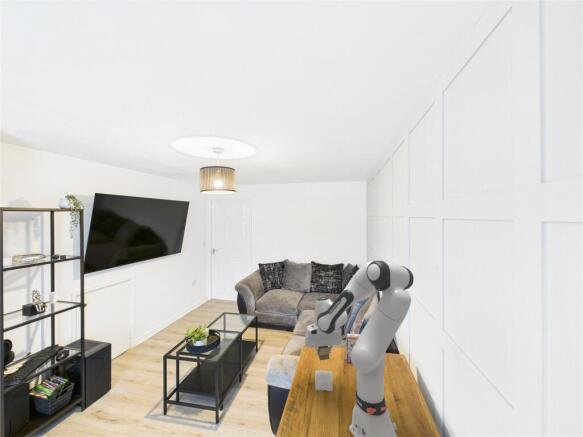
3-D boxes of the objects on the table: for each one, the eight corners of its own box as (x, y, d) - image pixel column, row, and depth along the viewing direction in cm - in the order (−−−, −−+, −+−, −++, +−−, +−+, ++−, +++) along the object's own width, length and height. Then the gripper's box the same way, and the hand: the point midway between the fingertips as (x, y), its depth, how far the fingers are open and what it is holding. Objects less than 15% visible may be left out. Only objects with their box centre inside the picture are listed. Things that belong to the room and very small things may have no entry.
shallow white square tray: (332, 391, 128) (332, 381, 128) (315, 390, 129) (315, 380, 129) (331, 380, 137) (331, 371, 137) (315, 379, 138) (315, 370, 138)
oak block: (329, 359, 131) (329, 348, 131) (320, 360, 130) (320, 348, 130) (326, 354, 136) (326, 343, 136) (317, 355, 135) (317, 344, 135)
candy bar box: (347, 363, 152) (346, 336, 153) (346, 358, 157) (345, 333, 158) (365, 364, 151) (365, 337, 152) (363, 359, 156) (363, 333, 156)
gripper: (339, 324, 138) (339, 348, 138) (303, 326, 135) (304, 352, 134) (343, 328, 132) (343, 354, 131) (306, 331, 128) (306, 358, 128)
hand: (323, 353), depth 133 cm, fingers closed on oak block, 5 cm apart
